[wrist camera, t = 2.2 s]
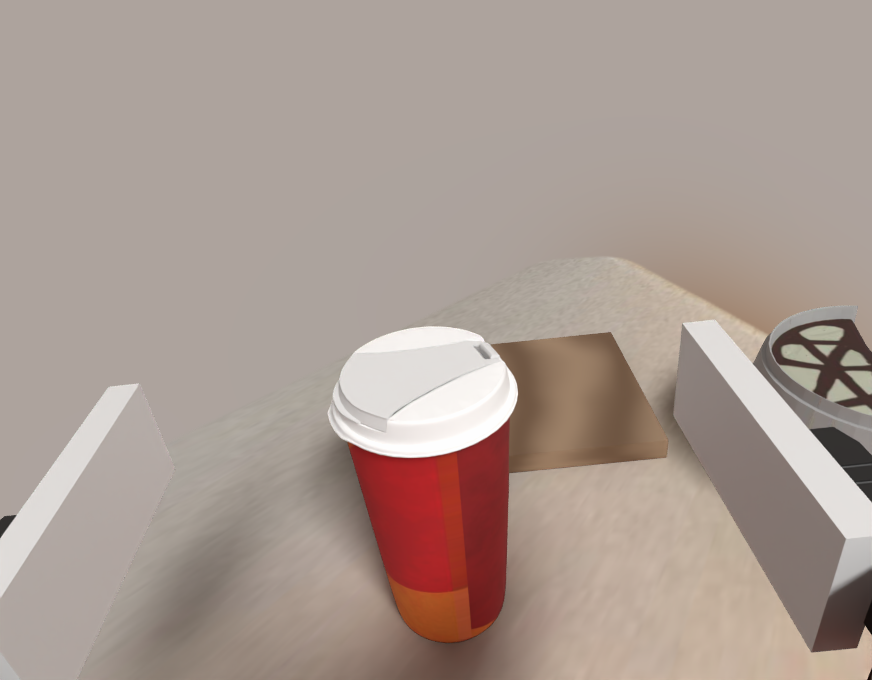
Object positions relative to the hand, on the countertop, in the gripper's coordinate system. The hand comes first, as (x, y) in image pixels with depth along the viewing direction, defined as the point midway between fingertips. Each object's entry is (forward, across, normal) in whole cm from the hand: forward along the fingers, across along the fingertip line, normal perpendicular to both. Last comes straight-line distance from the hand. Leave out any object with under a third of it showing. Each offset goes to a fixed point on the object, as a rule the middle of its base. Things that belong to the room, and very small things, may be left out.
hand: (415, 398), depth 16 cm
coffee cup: (+10, -1, -21) cm, 23 cm away
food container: (+15, +20, -21) cm, 33 cm away
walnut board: (+26, +5, -21) cm, 34 cm away
